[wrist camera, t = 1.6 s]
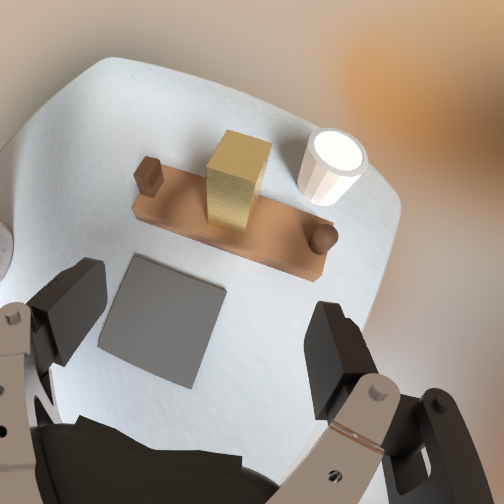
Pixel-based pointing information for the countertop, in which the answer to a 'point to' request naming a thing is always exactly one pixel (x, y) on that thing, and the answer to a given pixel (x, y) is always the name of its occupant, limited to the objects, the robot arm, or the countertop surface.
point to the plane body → (250, 246)
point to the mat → (162, 321)
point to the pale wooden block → (235, 181)
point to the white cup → (330, 165)
